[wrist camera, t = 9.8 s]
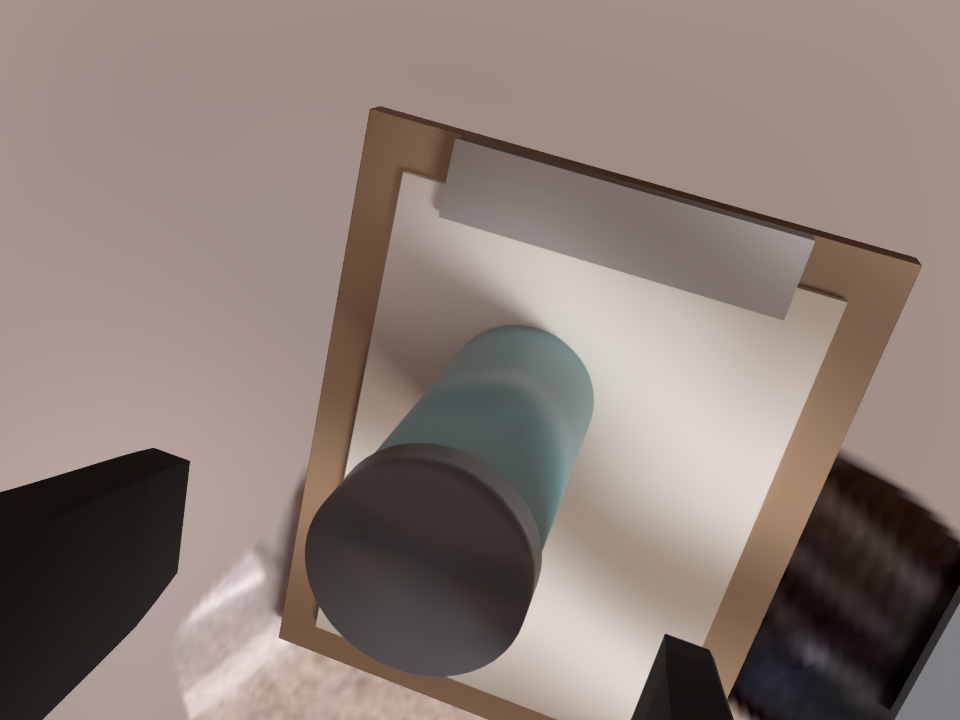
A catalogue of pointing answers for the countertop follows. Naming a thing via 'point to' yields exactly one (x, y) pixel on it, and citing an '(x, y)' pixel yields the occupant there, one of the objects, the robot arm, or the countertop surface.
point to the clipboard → (603, 395)
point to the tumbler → (455, 508)
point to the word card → (935, 674)
